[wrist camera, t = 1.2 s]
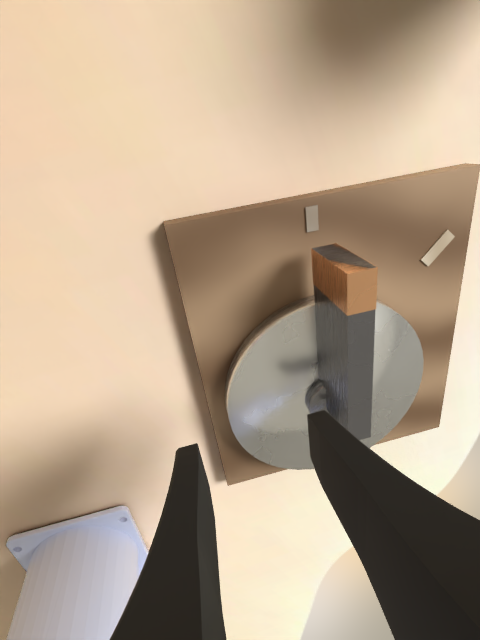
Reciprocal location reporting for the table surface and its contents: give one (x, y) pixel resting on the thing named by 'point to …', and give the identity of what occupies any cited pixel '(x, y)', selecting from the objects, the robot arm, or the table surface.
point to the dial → (324, 365)
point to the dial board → (297, 278)
